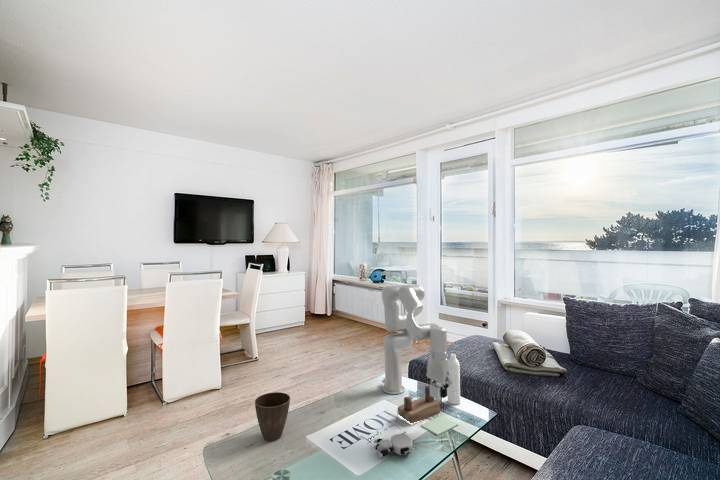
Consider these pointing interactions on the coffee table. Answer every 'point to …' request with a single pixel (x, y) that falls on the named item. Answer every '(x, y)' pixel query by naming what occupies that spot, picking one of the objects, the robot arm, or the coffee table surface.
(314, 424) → the coffee table surface
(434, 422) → the mat
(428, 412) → the plane body
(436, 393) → the grey rectangular block
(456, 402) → the water bottle
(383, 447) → the toy panda
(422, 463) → the coffee table surface
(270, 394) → the plant pot
